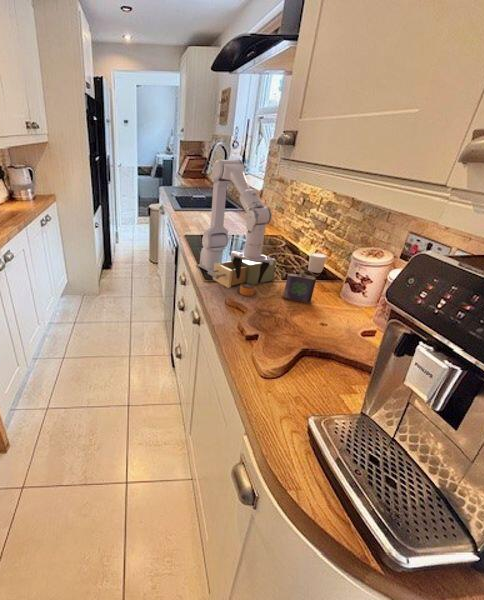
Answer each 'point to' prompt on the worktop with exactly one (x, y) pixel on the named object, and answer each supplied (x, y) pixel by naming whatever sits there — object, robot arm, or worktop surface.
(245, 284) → the donut
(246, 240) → the robot arm
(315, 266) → the shot glass
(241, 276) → the drawer
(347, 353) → the worktop surface
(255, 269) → the cabinet
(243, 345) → the worktop surface
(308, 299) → the flask
